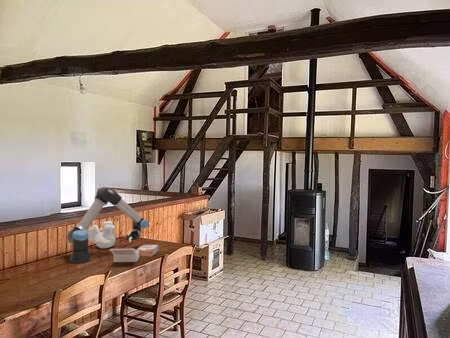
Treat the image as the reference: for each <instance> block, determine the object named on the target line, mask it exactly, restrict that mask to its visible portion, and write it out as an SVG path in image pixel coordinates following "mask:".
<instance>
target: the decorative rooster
mask: <svg viewBox="0 0 450 338" xmlns="http://www.w3.org/2000/svg"><path fill="white" fill-rule="evenodd" d="M102 225H103V227H100V228H99V227H98V225H97V224H94V225H92V226H90V227H89V228H88V230H87V232H88V235H89V237H88V242H89V241H90V242H91V243H92V244H93V243H94V244H95V245H96V246H97V247H98V248H99V249H108V248H111V247H113V246H114V245H115V244H116V240H117V239H116V236H115V228H116V226H115V225H113V222H112V221H110V220H106V221H103V223H102Z"/></svg>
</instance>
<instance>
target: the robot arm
mask: <svg viewBox="0 0 450 338" xmlns="http://www.w3.org/2000/svg"><path fill="white" fill-rule="evenodd" d="M93 198H94V201H93V203H92V204H91V206H89V208H88V210H87V211H86V212H85V214H84V216H83V217H82V218H81V220H80V221H79V223H78V224H77V225H75V226H74V227H73V228H72V229H70V230H69V231H68V232H67V234H66V238H67V241H68V243H69V244H71V245H72V252H71V255H70V258H69V262H70V264H71V263H72V264H83V263H88V262H90V261H91V258H92V257H91V254H90V251H89V239H88V237H89V235H88V230H89V229H90V228H91V225H92V223H93V222H94V220H95V219H96V218H97V216H98V215H99V213H100V212H101V211H102V209H103V207H104V206H107V205H108V203H109V204H111V205H112V206H114V207H116V208H117V209H119V210H120V211H121V212H122V213H123V214H124V215H126V216H127V217H128V218H129V219H130V220H131V221H132V231H130V234H126V235H125V238H126V240H127V241H128V242H129V243H131V242H132V241H136V240H138V239H141V236H142V235H141V234H142V231H143V230H142V229H146V228H148V226H149V221H148V220H147V219H145V218H144V217H142V215H140V214H139V213H138V212H137V211H136V210H134V209H133V208H132V207H131V206H130V205H129V204H128V203H127V202H126V201H125V200H124V199H123V197H122V196H121V195H120V194H119V193H118V192H117V191H116V190H115V189H113V188H111V187H108V186H104V187H100V188H99V189H98V190H97V191H96V194H95V197H93Z"/></svg>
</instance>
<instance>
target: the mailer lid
mask: <svg viewBox="0 0 450 338" xmlns="http://www.w3.org/2000/svg"><path fill="white" fill-rule="evenodd" d="M135 250H136V249H135V248H110V249H109V251H110V252H111V253H112V255H113V256H114V255H133V254H137V253H136V251H135Z"/></svg>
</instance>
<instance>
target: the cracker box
mask: <svg viewBox="0 0 450 338" xmlns="http://www.w3.org/2000/svg"><path fill="white" fill-rule="evenodd" d="M135 250H139V257H148V258H151V257H153V256H154V255H156V254H157V253H158V252H159V251H160V244H153V243H152V244H149V243H147V244H146V243H144V244H142V245H141V246H139V247H138V248H136V249H135Z"/></svg>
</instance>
